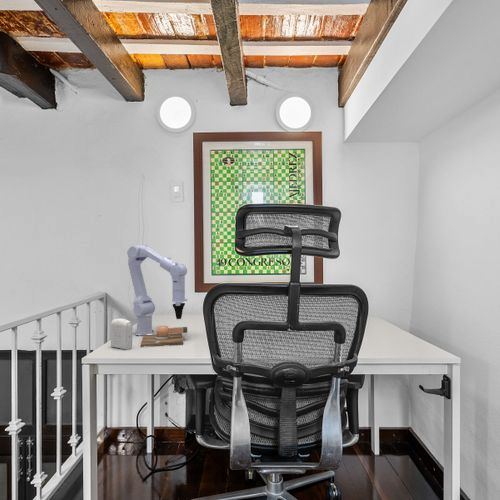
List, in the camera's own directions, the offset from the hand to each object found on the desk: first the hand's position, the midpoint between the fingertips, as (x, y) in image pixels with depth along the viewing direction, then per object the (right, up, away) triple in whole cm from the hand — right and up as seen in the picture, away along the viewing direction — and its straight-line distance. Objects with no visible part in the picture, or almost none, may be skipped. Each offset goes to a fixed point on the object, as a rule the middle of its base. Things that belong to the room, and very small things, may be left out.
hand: (178, 318), depth 183 cm
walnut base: (-6, -9, -6) cm, 13 cm away
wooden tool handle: (-2, -7, -5) cm, 9 cm away
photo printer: (-21, -9, -18) cm, 29 cm away
